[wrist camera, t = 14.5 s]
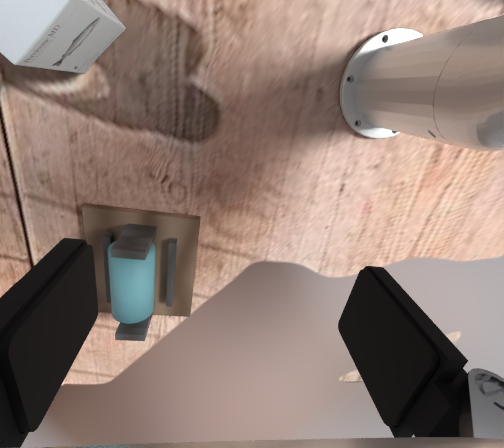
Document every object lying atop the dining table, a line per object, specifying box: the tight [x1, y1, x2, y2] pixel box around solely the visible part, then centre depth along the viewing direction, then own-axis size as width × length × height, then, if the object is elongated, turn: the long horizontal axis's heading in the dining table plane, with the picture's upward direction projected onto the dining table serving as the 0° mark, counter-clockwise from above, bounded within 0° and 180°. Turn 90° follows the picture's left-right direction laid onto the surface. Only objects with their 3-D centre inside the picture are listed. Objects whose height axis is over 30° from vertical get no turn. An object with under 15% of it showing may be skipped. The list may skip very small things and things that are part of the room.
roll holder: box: [82, 204, 200, 341], centre depth 40 cm, size 16×19×8 cm
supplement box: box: [0, 0, 126, 73], centre depth 24 cm, size 7×7×13 cm
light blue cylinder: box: [108, 241, 155, 324], centre depth 40 cm, size 11×6×6 cm, turn 170°
